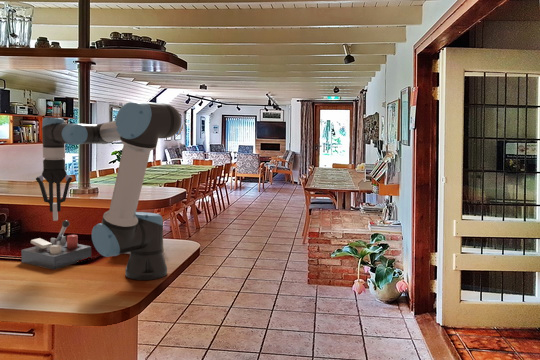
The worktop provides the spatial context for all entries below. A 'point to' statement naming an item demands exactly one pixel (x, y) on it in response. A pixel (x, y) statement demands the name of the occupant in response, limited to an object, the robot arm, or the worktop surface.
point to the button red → (72, 241)
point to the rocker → (41, 243)
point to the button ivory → (55, 249)
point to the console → (55, 255)
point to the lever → (63, 229)
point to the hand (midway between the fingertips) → (55, 219)
